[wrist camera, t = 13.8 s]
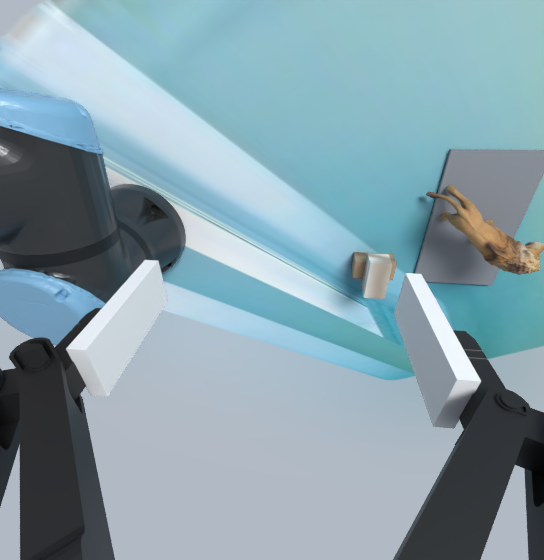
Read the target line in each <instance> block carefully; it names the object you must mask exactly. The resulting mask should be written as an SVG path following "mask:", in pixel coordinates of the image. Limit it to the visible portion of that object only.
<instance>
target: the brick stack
mask: <svg viewBox="0 0 544 560" xmlns="http://www.w3.org/2000/svg"><path fill="white" fill-rule="evenodd" d="M396 265H397V263H396V261H395V258H394V256H393V254H382V253H360V252H354V254H353V261H352V267H351V269H352V275H353V278H361V279H363V281H362V286H361V287H362V291H363V296H364V298H377V299H384V298H385V294H386V290H387V286H388V282H389V280H393V277H394V273H395V269H396Z"/></svg>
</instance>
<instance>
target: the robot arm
mask: <svg viewBox="0 0 544 560" xmlns="http://www.w3.org/2000/svg"><path fill="white" fill-rule="evenodd" d="M103 154H104V152H103V150H102V149H101V148H100V145H99V142H98V139H97V135H96V132H95V128H94V124H93V121H92V118H91V116H90V114H89V113H88V112H87V110H86V109H85V108H84V107H83V106H81V105H80V104H78V103H77V102H75V101H72V100H69V99H65V98H60V97H55V96H49V95H43V94H37V93H30V92H23V91H16V90H9V89H2V88H0V259H1V261H2V263H3V265H4V269H3V270H0V317H1V318H2V319H4V320H5V321H6V322H7V323H9V324H10V325H11V326H13V327H14V328H16V329H17V330H19V331H21V332H23V333H25V334H27V335H29V336H30V337H33V338H34V339H30V340H28V341H26V342H23V343H22V344H20V345H18V346H17V347H16V348H15V349H14V350H13V351H12V352H11V353H10V356H9V358H10V360H11V361H12V363H13V364H14V366H15V367H16V368H15V369H9V370H3V371H2V370H1V369H0V506H1V502H2V499H3V496H4V493H5V490H6V486H7V483H8V479H9V476H10V473H11V470H12V467H13V463H14V460H15V457H16V453H17V450H18V447H19V444H20V560H115V558H114V553H113V548H112V543H111V538H110V533H109V528H108V523H107V518H106V513H105V508H104V503H103V498H102V493H101V488H100V483H99V478H98V473H97V469H96V463H95V458H94V453H93V448H92V443H91V438H90V433H89V428H88V423H87V419H86V413H85V408H84V403H83V399H82V397H81V395H80V393H81V392H82V391H83V389H84V388H85V386H86V388H87V390H88V391H89V394H90V395H94V396H104V397H108V395H109V394H110V392H111V390H112V389H113V387H114V386H115V384H116V383H117V381H118V379H119V378H120V376H121V375H122V373H123V371H124V370H125V368H126V366H127V365H128V363H129V362H130V360H131V359H132V357H133V356H134V354H135V352H136V351H137V349H138V348H139V346H140V344H141V343H142V341H143V340H144V338H145V336H146V335H147V333H148V332H149V330H150V328H151V327H152V325H153V324H154V322H155V320H156V319H157V317H158V316H159V314H160V312H161V311H162V309H163V308H164V306H165V304H166V303H167V301H168V299H167V295H166V291H165V286H164V282H163V278H162V274H161V273H162V272H164V271H166V270H168V269H169V268H171V267H172V266H173V265H174V264H175V263H176V261H177V260H178V259H179V257H180V256H181V254H182V253H183V250H184V247H185V241H186V237H185V230H184V226H183V223H182V221H181V219H180V217H179V215H178V213H177V212H176V210H175V209H174V208H173V207H172V205H171V204H170V203H169V202H168V201H167V200H166V199H164V198H163V197H162V196H160V195H159V194H158V193H156V192H154V191H152V190H150V189H148V188H145V187H142V186H139V185H133V184H123V185H118V186H115V187H112V188H110V186H109V182H108V177H107V173H106V168H105V164H104V159H103ZM394 316H395V319H396V322H397V325H398V328H399V330H400V333H401V336H402V339H403V342H404V345H405V348H406V350H407V353H408V356H409V359H410V362H411V365H412V367H413V370H414V373H415V376H416V379H417V382H418V384H419V387H420V390H421V393H422V396H423V399H424V401H425V404H426V407H427V410H428V413H429V416H430V419H431V422H432V424H433V426H435V427H444V428H455V426H456V424H457V423H458V421H459V419H460V421H461V424H462V426H463V428H464V431H463V432H462V434H461V435H460V437H459V439H458V440H457V442H456V444H455V447H454V448H453V451H452V452H451V454H450V456H449V458H448V460H447V461H446V463H445V465H444V467H443V469H442V471H441V472H440V474H439V476H438V478H437V480H436V482H435V484H434V485H433V487H432V489H431V491H430V493H429V495H428V496H427V498H426V500H425V502H424V504H423V505H422V507H421V509H420V511H419V513H418V515H417V517H416V519H415V520H414V522H413V524H412V526H411V528H410V530H409V531H408V533H407V535H406V537H405V539H404V540H403V542H402V544H401V546H400V548H399V550H398V552H397V553H396V555H395V557H394V559H393V560H480V559H481V556H482V553H483V551H484V548H485V545H486V542H487V540H488V537H489V534H490V531H491V529H492V525H493V523H494V520H495V518H496V515H497V512H498V509H499V507H500V504H501V501H502V498H503V496H504V493H505V490H506V487H507V485H508V482H509V479H510V476H511V474H512V471H513V468H514V465H517V466H520V467H522V468H525V488H526V510H527V532H528V553H529V560H544V413H543V412H540V411H537V410H535V409H532V408H530V406H529V404H528V403H527V402H526V401H525V400H524V399H523V398H522V397H520V396H519V395H517V394H516V393H514V392H512V391H509V390H507V389H506V388H505V386H504V385H503V383H502V382H501V380H500V378H499V377H498V375H497V374H496V372H495V370H494V369H493V367H492V366H491V364H490V362H489V361H488V360H487V359H486V356H485V354H484V353H483V352H482V350H481V348H480V346H479V345H478V343H477V342H476V340H475V339H474V338H473V337H471V336H470V335H469V334H468V333H467V332H466V331H454V330H452V328H451V326H450V325H449V323H448V321H447V319H446V317H445V316H444V314H443V312H442V310H441V308H440V307H439V305H438V303H437V301H436V300H435V298H434V296H433V294H432V292H431V291H430V289H429V287H428V285H427V283H426V282H425V280H424V278H423V276H422V274H413V273H406V274H405V277H404V281H403V284H402V288H401V291H400V295H399V299H398V302H397V306H396V309H395V313H394ZM53 345H57V346H56V347H55V348H54V346H53Z"/></svg>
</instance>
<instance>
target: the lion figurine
mask: <svg viewBox="0 0 544 560" xmlns="http://www.w3.org/2000/svg"><path fill="white" fill-rule="evenodd" d="M446 192H447V193H448V194H450V195H452V196H453V197H455V198H456V199H457V200H459V202H460V204H461V206H462V207H461V206H460V205H459V204H458V203H456V202H455V201H454V200H452V199H451V198H449V197H447V196H444V195H440V194H435V193H434V192H427V193H426V195H427V196H430V197H432V198H439V199H443V200H445V201H447V202H448V203H450V204H451V205H452V206H453V207H454V208H455V210H456V211H457V213H455V214H450V212H449V211H444V212H443V213H442V214H441V220H442V221H447V220H448V221H449V222H450V224H451V225H453V226H454V227H455V228H456V229H457V230H459V231H461V232H463V233H464V234H465V235H466V237H467V238H468V239H469V240H470V242H471V243H472V245H473V246H474V247H475V248H477V250H478V251H479V252H480V253H481V254H482V255H483V257H484V259H485V261H487V262H488V263H490V265H494V266H497V267H498V268H500V269H502V270H503V271H508V272H512V273H515V274H518V275H521V274H527V273H531V272H535V271H539V268H540V267H539V265H540V261H539V259H540V253H541V252H542V251H543V250H544V244H543V243H539V242H533V243H532V242H529V243H527V244H525V245H523V244H522V243H520V242H519V241H515V240H514V239H513V238H512V237H510V236H508V235H505V234H504V233H503V232H502V231H501V230H500V229H499V228H497V227H495V226H493V224H494V223H493V220H486V221H485V222H484V221H483V219H482V215H481V213H480V212H479V211H478V209H477V208H476V207H475V205H474V204H473V203H472V202H471V201H470V200H468V199H467V198H466V197H464V196H463V195H461V194H460V193H459V192H458V190H456V189H455V187H454V186H452V185H450V186H448V187H447V188H446Z"/></svg>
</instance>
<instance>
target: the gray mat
mask: <svg viewBox="0 0 544 560" xmlns="http://www.w3.org/2000/svg"><path fill="white" fill-rule="evenodd" d="M543 174H544V150H460V149H450V151H449V154H448V157H447V161H446V164H445V168H444V171H443V175H442V178H441V182H440V185H439V189H438V192H437V194H440V195H444V196H447V197H449V198H451V199H452V200H454V201H455V202H456V203H458V204H459V205H460V206H461V204H460V202H459V200H457V199H456V198H455V197H453V196H452V195H450V194H448V193H447V192H446V188H447V187H448V186H450V185H452V186H454V187H455V189H456V190H458V192H459V193H460V194H461V195H463V196H464V197H466V198H467V199H468V200H470V201H471V202H472V203H473V204H474V205H475V207H476V208H477V209H478V211H479V212H480V213H481V215H482V219H483V221H484V222H485V221H486V220H493V223H494V224H493V226H495V227H497V228H499V229H500V230H501V231H502V232H503V233H504V234H505V235H508V236H510V237H512V238H513V239H514V236H515V234H516V232H517V230H518V228H519V226H520V224H521V221H522V219H523V217H524V215H525V213H526V211H527V208H528V206H529V204H530V202H531V200H532V198H533V196H534V193H535V191H536V189H537V187H538V185H539V183H540V181H541V178H542V176H543ZM461 207H462V206H461ZM444 211H449V212H450V214H455V213H457V211H456V210H455V208H454V207H453V206H452V205H451V204H450V203H448V202H447V201H445V200H443V199H439V198H436V199H435V203H434V206H433V209H432V213H431V216H430V220H429V223H428V227H427V230H426V234H425V237H424V241H423V244H422V248H421V251H420V254H419V258H418V261H417V265H416V268H415V272H414V274H422V276H423V278H424V280H425V282H439V283H457V284H476V285H492V284H493V282H494V279H495V277H496V275H497V273H498V271H499V269H500V268H498V267H497V266H494V265H490V263H488V262H487V261H485V259H484V257H483V255H482V254H481V253H480V252H479V251H478V250H477V248H475V247H474V246H473V245H472V243H471V242H470V240H469V239H468V238H467V237H466V235H465V234H464V233H463V232H461V231H459V230H457V229H456V228H455V227H454V226H453V225H451V224H450V222H449V221H448V220H447V221H442V220H441V214H442V213H443V212H444Z"/></svg>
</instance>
